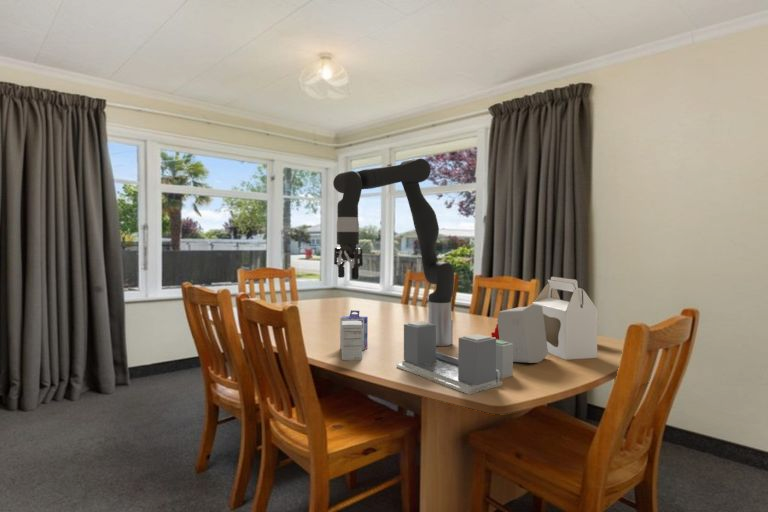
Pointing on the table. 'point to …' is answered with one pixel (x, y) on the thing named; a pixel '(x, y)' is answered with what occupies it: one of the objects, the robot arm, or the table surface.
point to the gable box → (569, 320)
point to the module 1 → (419, 342)
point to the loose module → (504, 358)
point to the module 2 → (477, 359)
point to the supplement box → (351, 340)
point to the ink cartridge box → (364, 327)
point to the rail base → (447, 374)
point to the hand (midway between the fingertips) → (348, 278)
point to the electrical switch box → (523, 333)
